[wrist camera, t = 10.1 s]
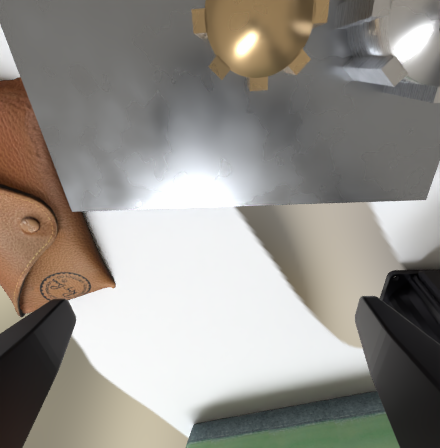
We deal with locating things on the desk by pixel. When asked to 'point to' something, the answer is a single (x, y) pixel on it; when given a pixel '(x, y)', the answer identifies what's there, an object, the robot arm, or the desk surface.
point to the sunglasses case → (39, 217)
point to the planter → (303, 427)
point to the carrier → (232, 99)
